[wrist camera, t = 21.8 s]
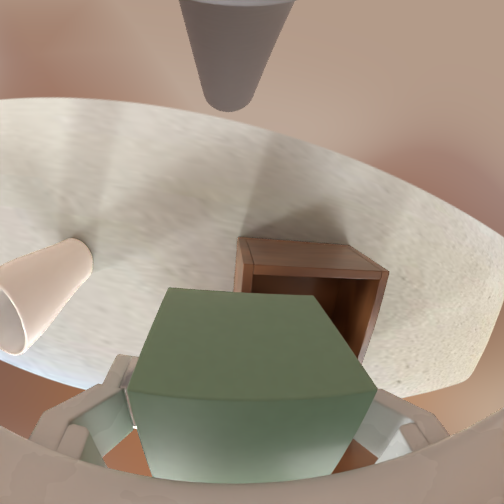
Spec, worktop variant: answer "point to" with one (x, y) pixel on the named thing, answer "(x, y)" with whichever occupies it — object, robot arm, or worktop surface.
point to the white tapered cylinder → (39, 291)
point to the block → (245, 389)
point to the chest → (317, 281)
